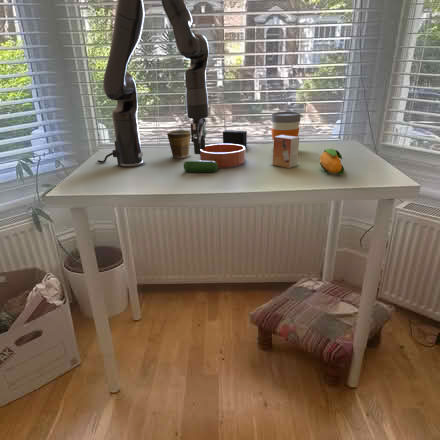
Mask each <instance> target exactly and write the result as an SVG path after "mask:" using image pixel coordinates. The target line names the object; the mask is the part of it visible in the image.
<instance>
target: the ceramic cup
mask: <svg viewBox="0 0 440 440" xmlns="http://www.w3.org/2000/svg"><path fill="white" fill-rule="evenodd" d="M166 134H167V139H168V144H169V147H170V151H171V154H172V158H175V159H186V158H188V157H189V155H190V145H191V130H187V129H176V130H170V131H167V133H166Z"/></svg>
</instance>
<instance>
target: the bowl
mask: <svg viewBox="0 0 440 440" xmlns="http://www.w3.org/2000/svg"><path fill="white" fill-rule="evenodd" d="M199 161H215V162H216V163H217V165H218V168H217V169H220V168H221V169H222V168H223V169H225V168H233V167H238V166H241V165H243V164H244V163H245V162H246V147H244V146H242V145H237V144H223V143H215V144H208V145H205V149H201V153H200V154H199Z"/></svg>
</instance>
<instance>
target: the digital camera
mask: <svg viewBox="0 0 440 440" xmlns="http://www.w3.org/2000/svg"><path fill="white" fill-rule="evenodd" d="M247 134H248V131H247V130H236V129H235V130H233V129H226V130H224V131H222V144H237V145H242V146H244V147H245V148H247V146H248V145H247V142H248V139H247V138H248V135H247Z"/></svg>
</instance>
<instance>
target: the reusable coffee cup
mask: <svg viewBox="0 0 440 440" xmlns="http://www.w3.org/2000/svg"><path fill="white" fill-rule="evenodd" d="M270 117H271V118H270V122H271V128H270V129H271V139H272V141H273V142H272V143H273V144H274V137H275V136H279V135H286V136H295V137H299V133H300V122H301V119H302V118H301V113H300V112H297V111H296V112H295V111H277V112H272V113H271V116H270Z"/></svg>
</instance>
